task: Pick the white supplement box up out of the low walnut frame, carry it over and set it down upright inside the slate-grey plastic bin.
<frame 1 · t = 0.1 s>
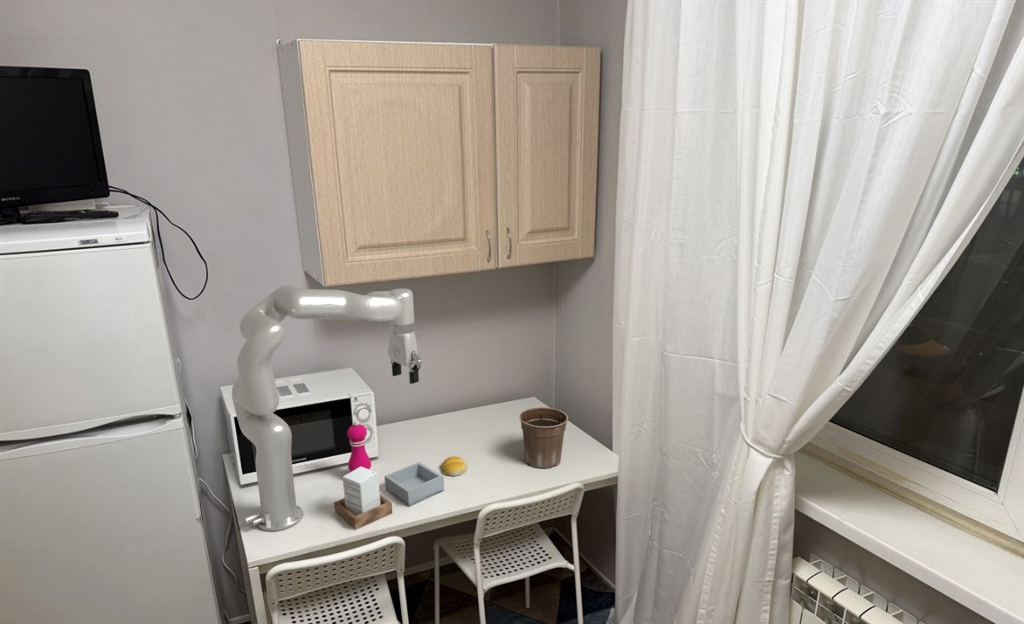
hand: (405, 378, 206), 31 cm above the table, tool pointing down, fingers open, 9 cm apart
plant pot: (543, 460, 217), on the table
grey bin: (414, 490, 199), on the table
pepper mill: (360, 478, 207), on the table
supplement box: (363, 513, 187), resting in walnut frame
walnut frame: (363, 513, 187), on the table
bread roll: (454, 471, 211), on the table
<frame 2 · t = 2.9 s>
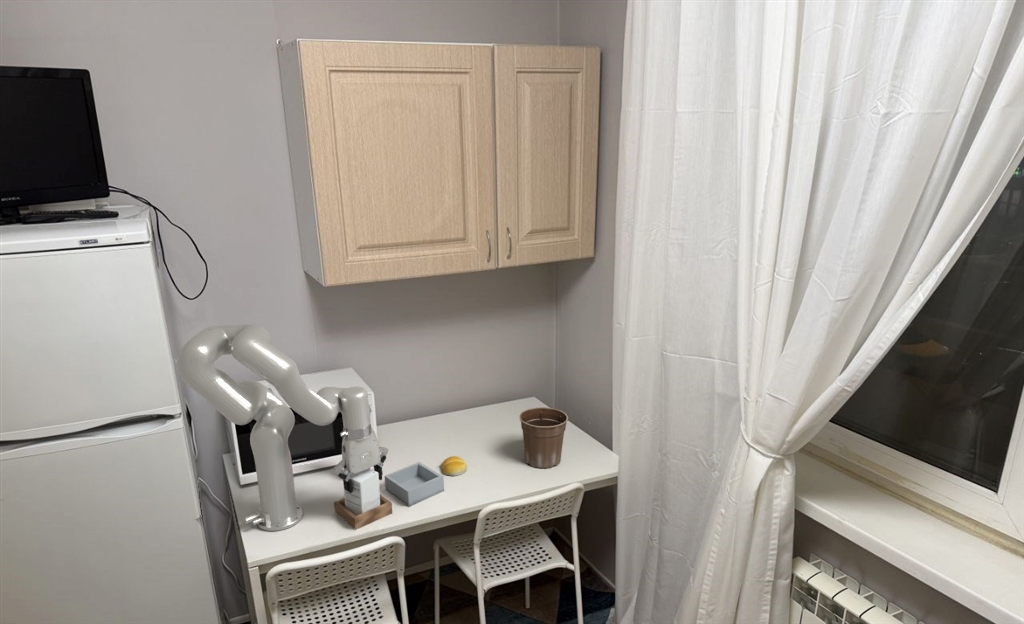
hand: (364, 484, 185), 9 cm above the table, tool pointing down, fingers open, 9 cm apart
nothing on the table moved.
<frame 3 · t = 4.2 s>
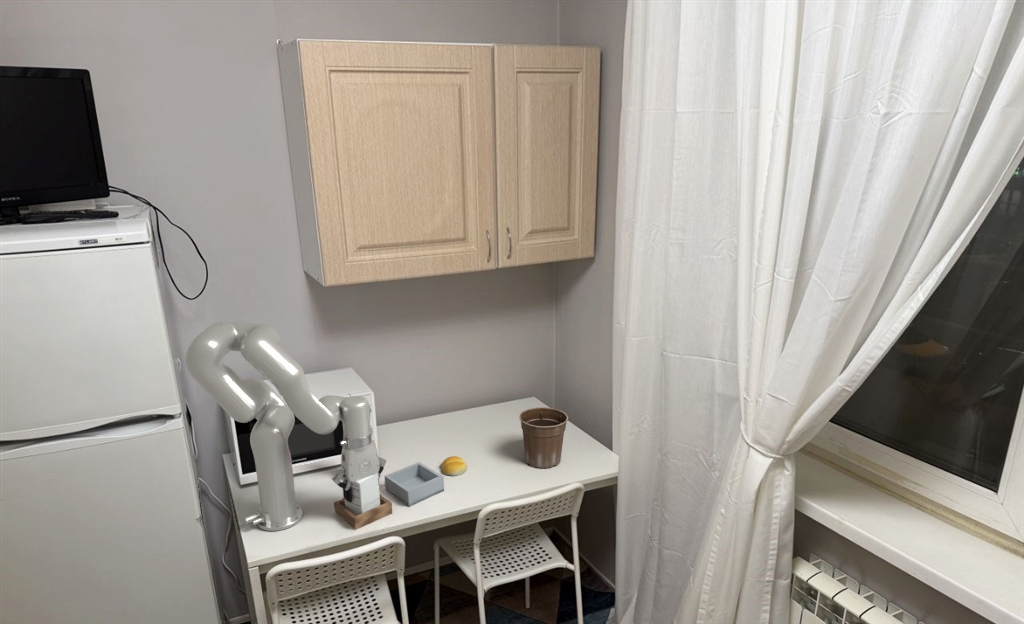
hand: (362, 494, 185), 6 cm above the table, tool pointing down, fingers closed on supplement box, 8 cm apart
supplement box: (363, 513, 187), resting in walnut frame, touching gripper
everything else where it was.
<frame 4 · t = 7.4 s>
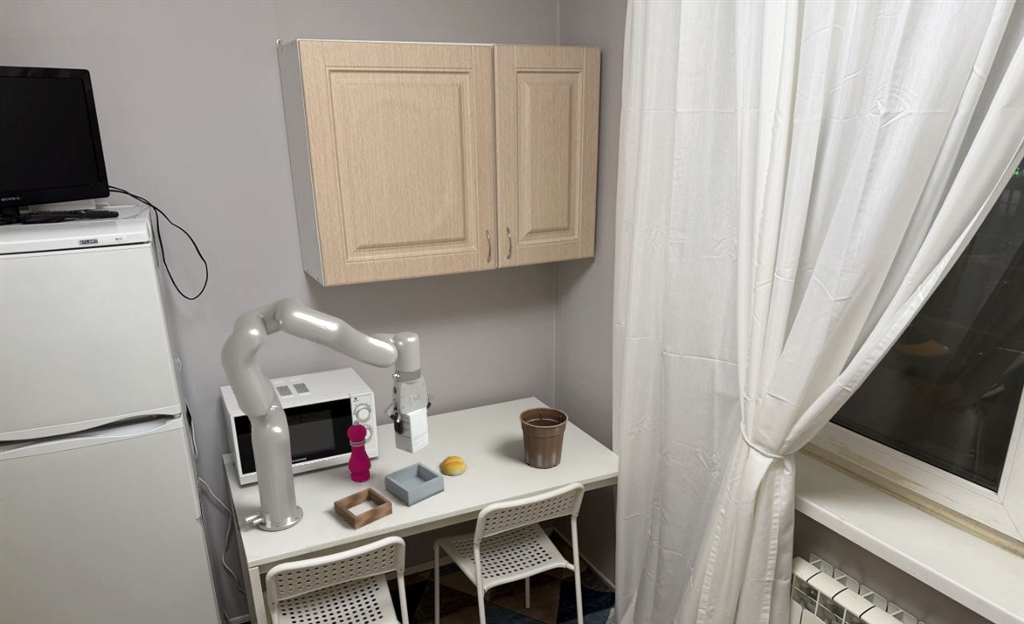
hand: (411, 428, 193), 21 cm above the table, tool pointing down, fingers closed on supplement box, 8 cm apart
supplement box: (412, 447, 195), point 15 cm above the table, touching gripper
everything else where it was.
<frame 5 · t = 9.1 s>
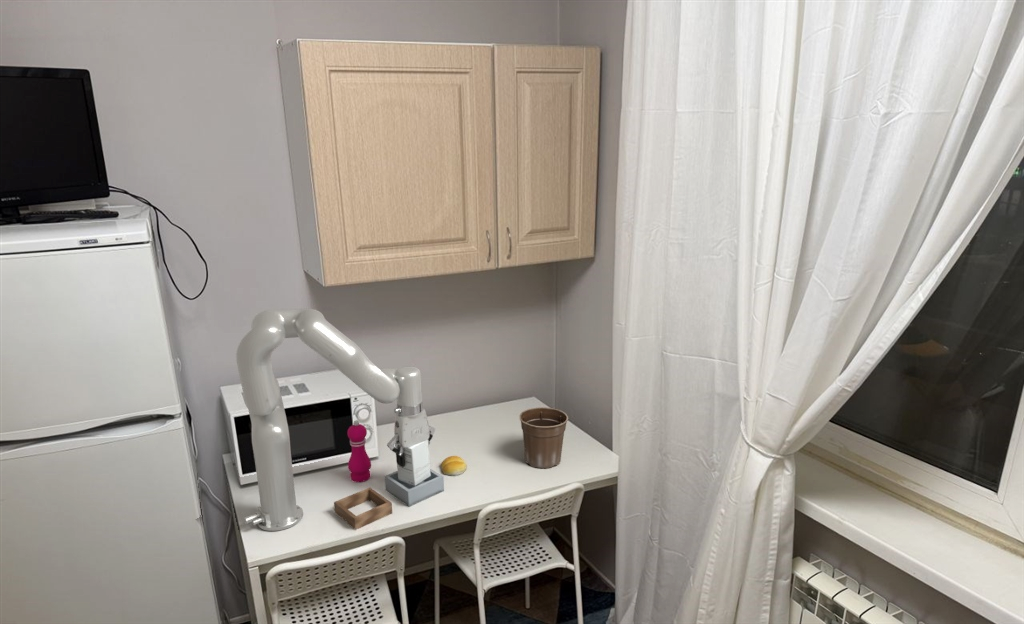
hand: (413, 460, 196), 10 cm above the table, tool pointing down, fingers closed on supplement box, 8 cm apart
supplement box: (414, 478, 198), point 4 cm above the table, touching gripper
everything else where it was.
when the fingers open (9 cm above the table, at t = 10.6 s): supplement box drops 2 cm, resting on grey bin.
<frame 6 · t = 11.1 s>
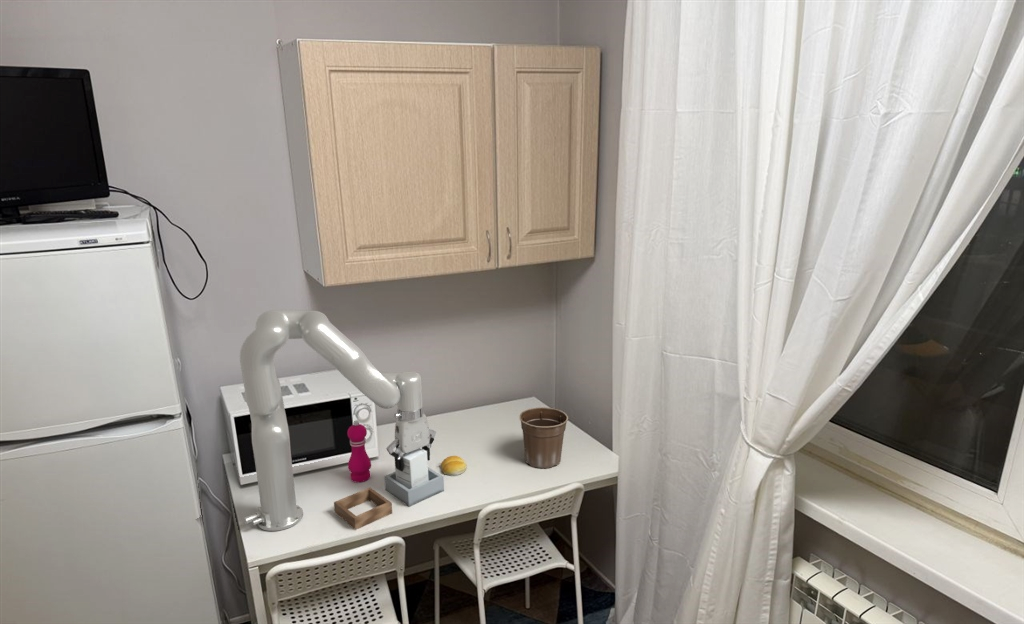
hand: (413, 464, 196), 9 cm above the table, tool pointing down, fingers open, 9 cm apart
supplement box: (412, 489, 198), point 1 cm above the table, touching grey bin, gripper
everything else where it was.
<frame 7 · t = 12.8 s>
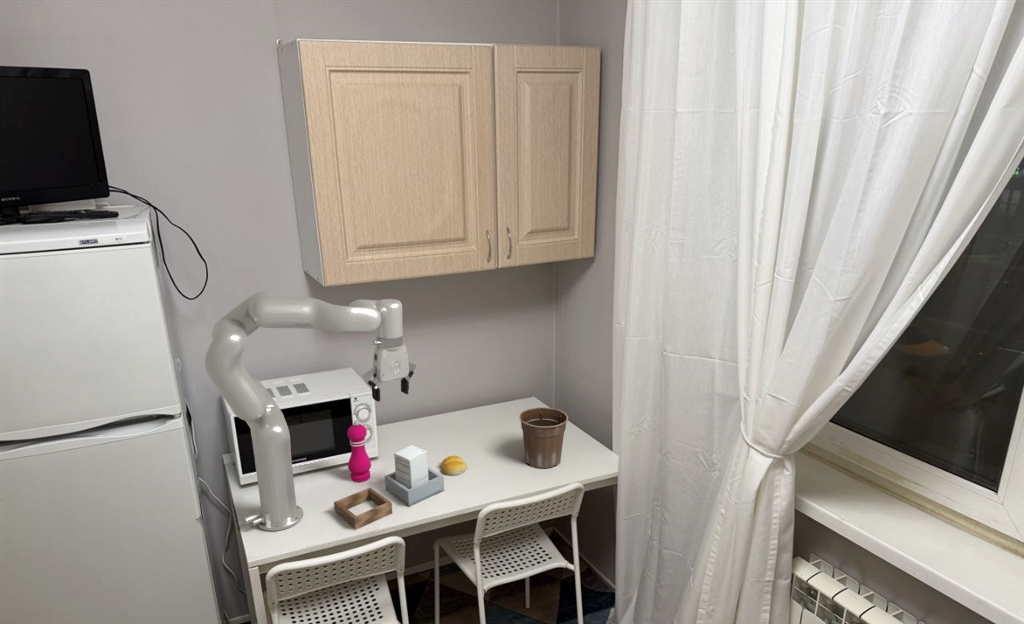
hand: (390, 396, 191), 31 cm above the table, tool pointing down, fingers open, 9 cm apart
supplement box: (412, 489, 198), point 1 cm above the table, touching grey bin
everything else where it was.
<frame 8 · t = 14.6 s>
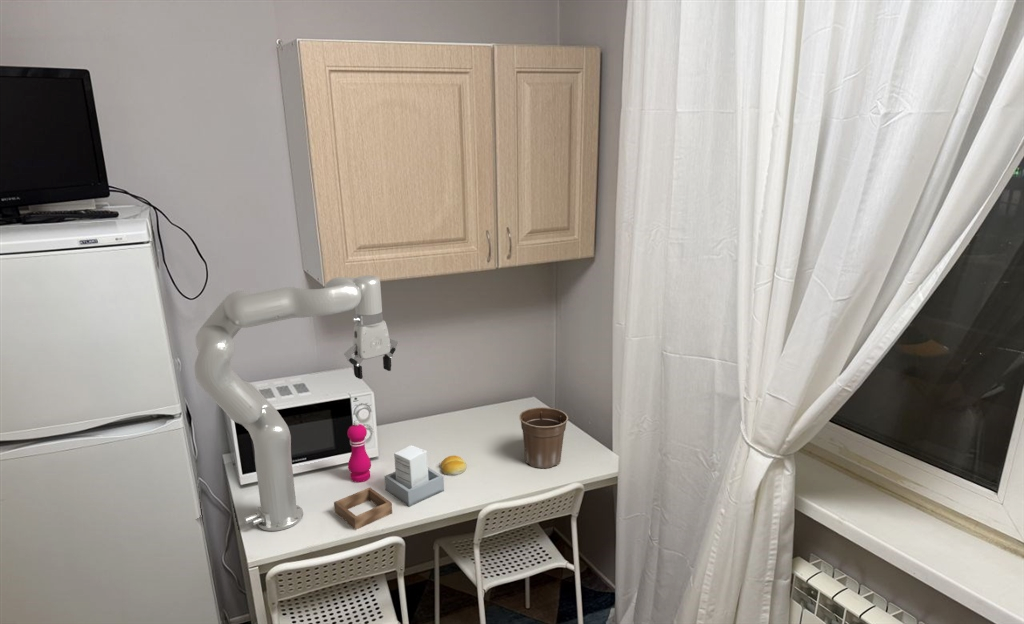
hand: (373, 373, 190), 38 cm above the table, tool pointing down, fingers open, 9 cm apart
nothing on the table moved.
at the end: supplement box inside the target area on the grey bin (0.6 cm from its centre), point 0.6 cm above the grey bin's base; supplement box tilted 0°; the gripper is holding nothing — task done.
